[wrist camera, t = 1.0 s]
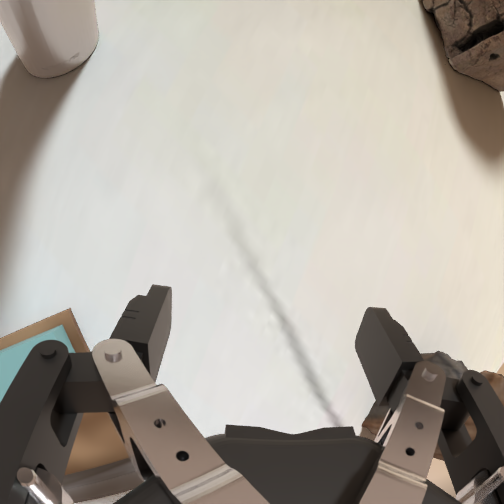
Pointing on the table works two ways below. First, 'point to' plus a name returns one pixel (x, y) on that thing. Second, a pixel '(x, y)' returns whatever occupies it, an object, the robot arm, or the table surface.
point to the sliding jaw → (25, 355)
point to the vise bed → (87, 431)
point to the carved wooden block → (473, 37)
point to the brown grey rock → (451, 370)
